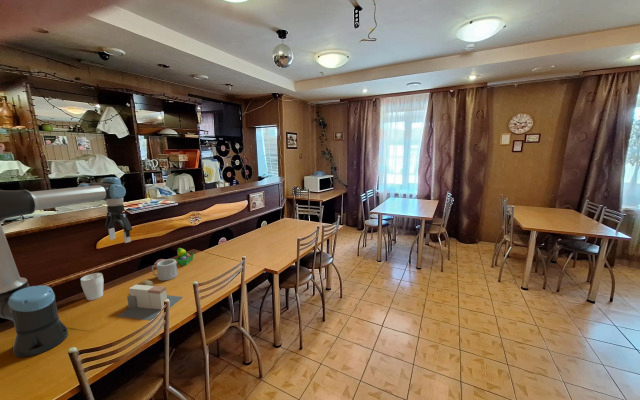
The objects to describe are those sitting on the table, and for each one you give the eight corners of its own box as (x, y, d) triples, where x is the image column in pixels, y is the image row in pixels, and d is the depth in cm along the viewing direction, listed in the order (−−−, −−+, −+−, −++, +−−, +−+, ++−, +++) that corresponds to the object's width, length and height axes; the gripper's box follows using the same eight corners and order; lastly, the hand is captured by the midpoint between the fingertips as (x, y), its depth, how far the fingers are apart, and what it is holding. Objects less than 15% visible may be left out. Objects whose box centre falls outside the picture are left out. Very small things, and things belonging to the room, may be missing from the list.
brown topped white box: (161, 309, 124) (159, 291, 123) (151, 308, 125) (148, 289, 123) (168, 304, 128) (165, 286, 127) (157, 303, 129) (155, 285, 127)
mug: (179, 271, 165) (177, 257, 164) (175, 279, 155) (174, 264, 154) (155, 274, 161) (154, 260, 159) (150, 282, 151) (148, 267, 149)
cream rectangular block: (149, 310, 124) (146, 291, 122) (128, 307, 126) (125, 289, 124) (159, 302, 131) (156, 284, 129) (139, 300, 132) (137, 282, 130)
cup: (92, 302, 131) (89, 281, 129) (79, 300, 133) (75, 279, 130) (110, 293, 140) (107, 273, 137) (97, 291, 141) (93, 271, 139)
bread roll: (154, 298, 141) (159, 284, 143) (133, 298, 134) (139, 283, 135) (149, 292, 148) (154, 278, 149) (129, 291, 141) (135, 277, 142)
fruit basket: (186, 266, 173) (185, 251, 171) (174, 266, 174) (172, 250, 171) (195, 259, 185) (193, 245, 182) (183, 259, 185) (181, 244, 183)
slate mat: (154, 322, 116) (154, 320, 116) (117, 317, 119) (117, 316, 119) (183, 297, 136) (183, 296, 136) (151, 294, 139) (150, 293, 139)
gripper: (136, 205, 140) (141, 241, 144) (109, 201, 149) (113, 235, 153) (122, 207, 133) (127, 245, 137) (94, 204, 142) (99, 239, 146)
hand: (120, 240), depth 145 cm, fingers open, 13 cm apart
